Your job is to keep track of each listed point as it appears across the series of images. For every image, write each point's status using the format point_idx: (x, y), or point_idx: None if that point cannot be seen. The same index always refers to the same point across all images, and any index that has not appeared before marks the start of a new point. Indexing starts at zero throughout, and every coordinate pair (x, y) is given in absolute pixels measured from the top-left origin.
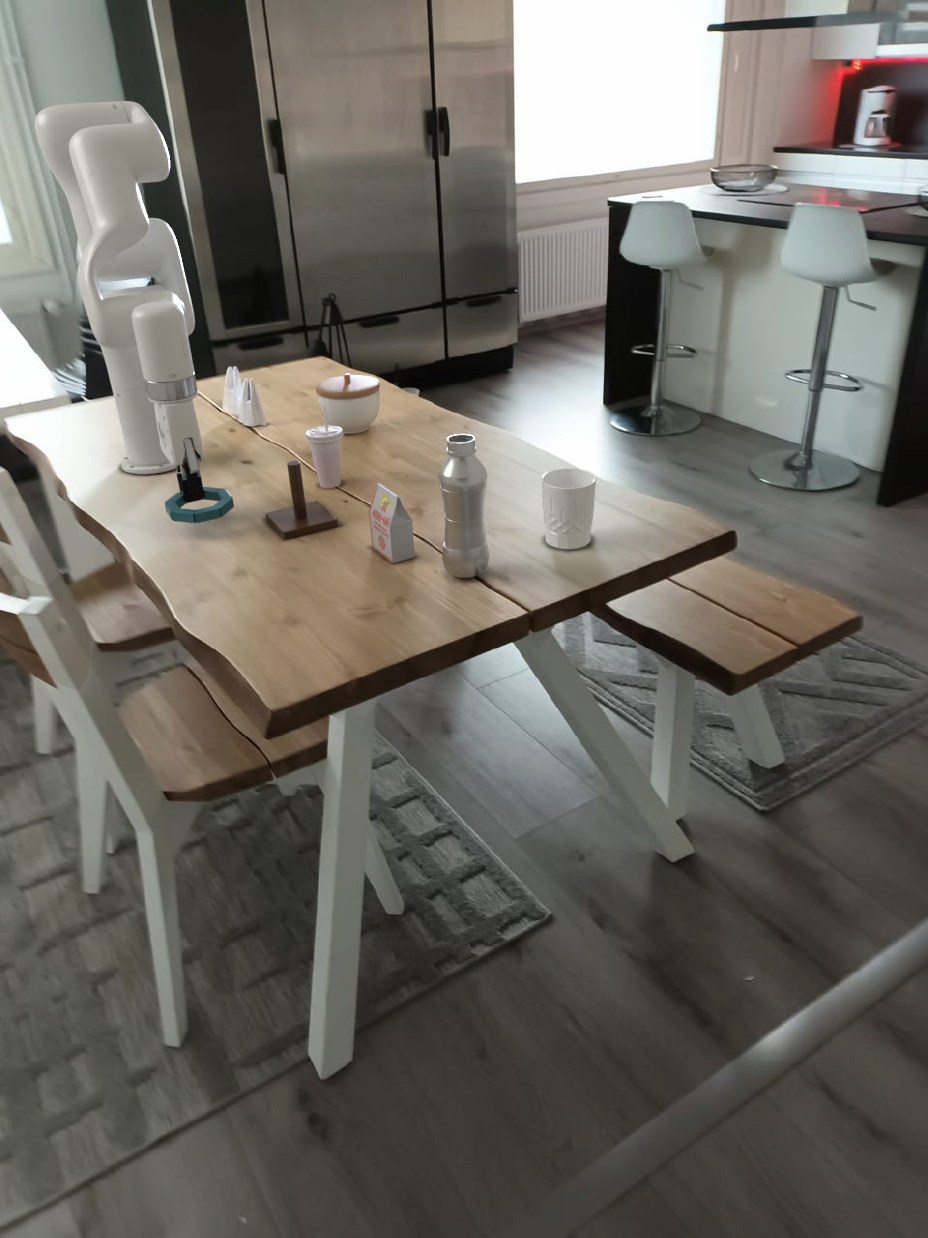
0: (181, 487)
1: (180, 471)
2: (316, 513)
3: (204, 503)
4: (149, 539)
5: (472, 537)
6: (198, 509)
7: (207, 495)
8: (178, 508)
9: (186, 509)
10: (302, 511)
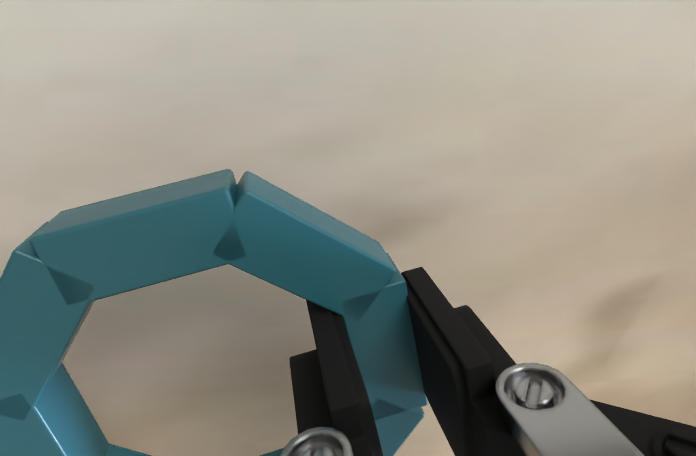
0: (416, 314)
1: (496, 403)
2: None
3: (496, 291)
4: (106, 15)
5: None
6: (33, 425)
7: None
8: (81, 296)
9: (44, 352)
10: None
